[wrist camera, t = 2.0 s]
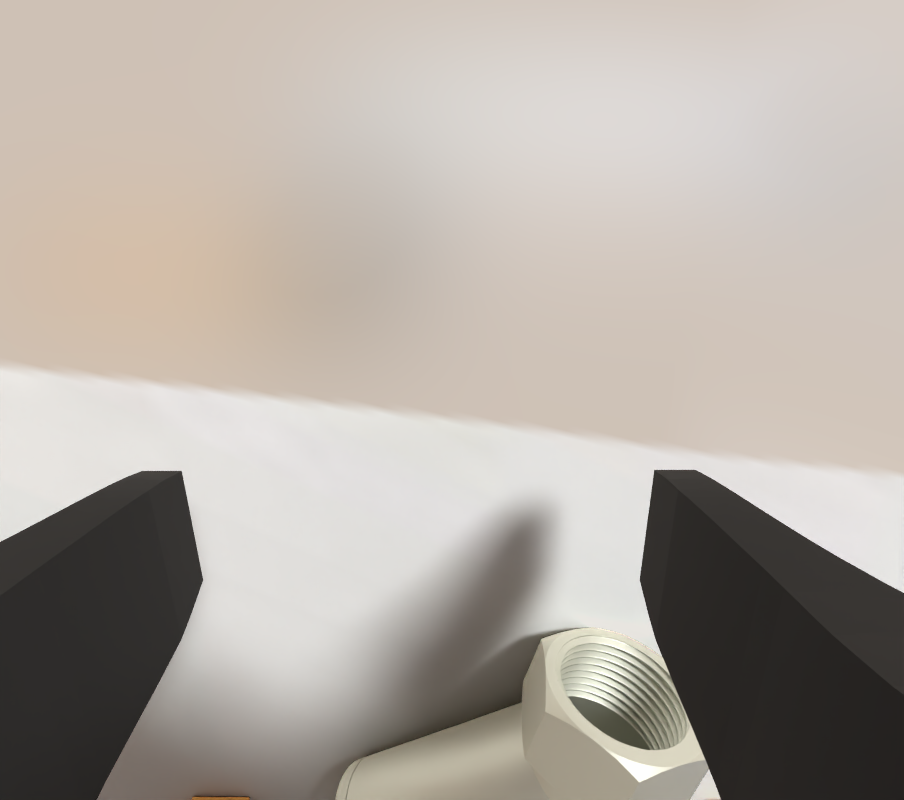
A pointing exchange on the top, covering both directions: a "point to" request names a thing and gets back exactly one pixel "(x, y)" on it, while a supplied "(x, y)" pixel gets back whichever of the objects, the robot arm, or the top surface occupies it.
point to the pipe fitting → (555, 736)
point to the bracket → (220, 798)
